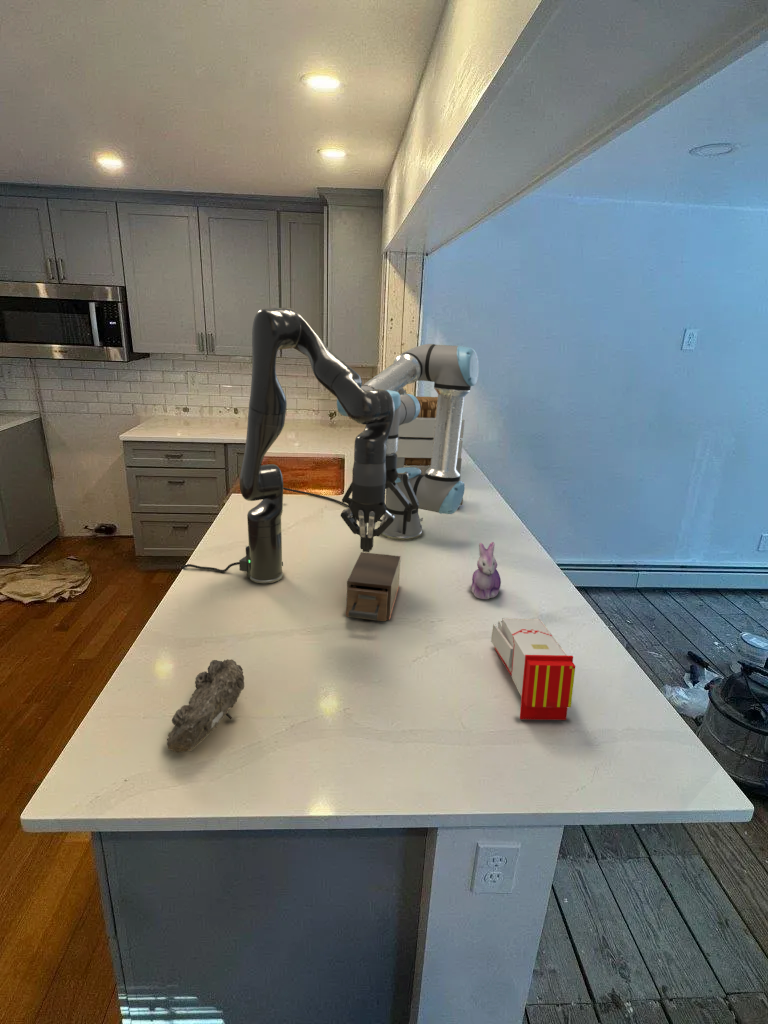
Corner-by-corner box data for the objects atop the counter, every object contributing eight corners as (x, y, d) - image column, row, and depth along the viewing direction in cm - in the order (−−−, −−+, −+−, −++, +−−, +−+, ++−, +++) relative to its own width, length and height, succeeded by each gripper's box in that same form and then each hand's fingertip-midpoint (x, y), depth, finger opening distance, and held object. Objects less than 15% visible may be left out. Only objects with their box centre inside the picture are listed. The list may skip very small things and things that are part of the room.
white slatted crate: (382, 463, 289) (386, 382, 275) (445, 464, 293) (451, 384, 279) (390, 482, 257) (394, 392, 243) (460, 483, 261) (468, 394, 247)
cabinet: (389, 620, 144) (391, 585, 141) (346, 615, 146) (347, 581, 143) (398, 587, 162) (400, 556, 158) (360, 583, 163) (360, 552, 160)
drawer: (382, 633, 137) (383, 605, 134) (341, 628, 138) (342, 600, 135) (395, 590, 158) (396, 564, 155) (359, 586, 159) (360, 560, 157)
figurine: (482, 603, 154) (488, 553, 149) (461, 587, 163) (466, 539, 158) (510, 597, 158) (516, 547, 153) (487, 581, 167) (493, 534, 162)
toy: (537, 603, 136) (584, 662, 106) (532, 655, 138) (577, 726, 109) (487, 602, 135) (520, 661, 106) (483, 654, 138) (514, 725, 109)
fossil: (192, 660, 117) (244, 628, 112) (224, 691, 120) (276, 661, 115) (142, 746, 98) (202, 712, 93) (182, 779, 101) (242, 748, 96)
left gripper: (336, 482, 125) (335, 554, 130) (396, 487, 123) (392, 560, 129) (343, 473, 132) (342, 542, 137) (400, 478, 130) (396, 547, 136)
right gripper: (331, 452, 143) (330, 530, 150) (430, 460, 139) (424, 539, 147) (338, 445, 150) (336, 520, 157) (432, 453, 147) (426, 529, 154)
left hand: (366, 550), depth 133 cm, fingers closed
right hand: (379, 530), depth 152 cm, fingers open, 13 cm apart
